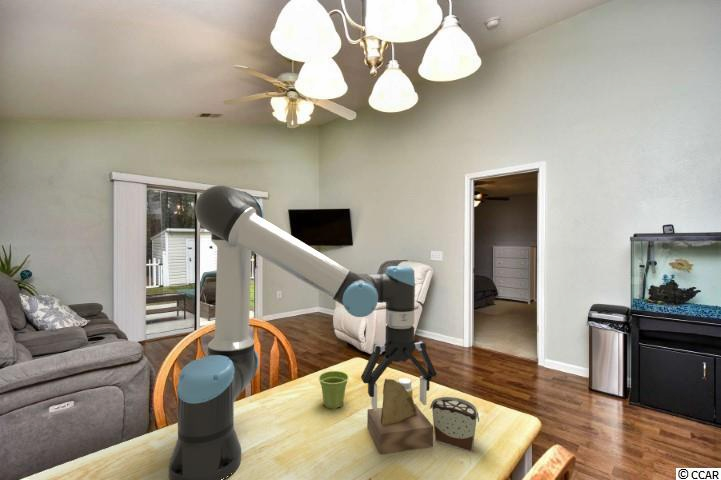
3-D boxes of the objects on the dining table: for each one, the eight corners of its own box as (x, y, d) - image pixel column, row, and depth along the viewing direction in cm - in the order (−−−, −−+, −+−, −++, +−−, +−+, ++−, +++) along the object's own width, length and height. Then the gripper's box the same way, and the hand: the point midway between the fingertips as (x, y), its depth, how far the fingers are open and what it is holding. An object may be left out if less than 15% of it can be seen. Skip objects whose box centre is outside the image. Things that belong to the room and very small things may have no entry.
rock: (416, 397, 97) (381, 391, 98) (422, 381, 92) (385, 375, 93) (416, 438, 89) (377, 431, 90) (422, 423, 84) (381, 416, 84)
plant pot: (345, 413, 103) (345, 384, 103) (314, 410, 104) (314, 381, 104) (351, 398, 112) (351, 371, 112) (322, 396, 114) (323, 369, 114)
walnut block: (380, 454, 84) (380, 433, 84) (367, 427, 95) (367, 409, 95) (433, 446, 87) (433, 426, 87) (414, 421, 99) (414, 403, 99)
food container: (483, 441, 89) (483, 403, 89) (478, 454, 84) (478, 413, 84) (437, 427, 95) (437, 391, 95) (429, 439, 90) (429, 401, 90)
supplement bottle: (412, 404, 109) (412, 377, 108) (412, 412, 104) (413, 384, 104) (396, 403, 109) (396, 377, 109) (396, 411, 104) (397, 383, 104)
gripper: (356, 331, 84) (356, 418, 84) (450, 326, 90) (448, 407, 90) (350, 324, 91) (349, 403, 92) (437, 319, 97) (436, 394, 98)
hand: (399, 405), depth 91 cm, fingers open, 13 cm apart
